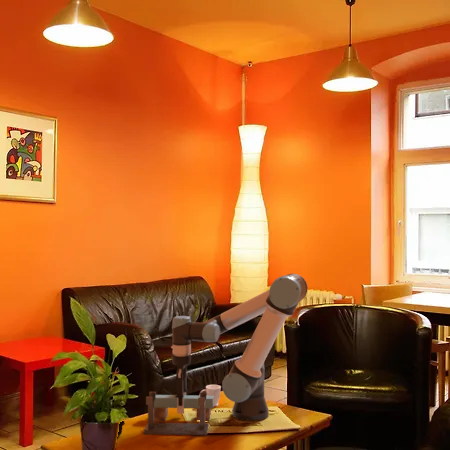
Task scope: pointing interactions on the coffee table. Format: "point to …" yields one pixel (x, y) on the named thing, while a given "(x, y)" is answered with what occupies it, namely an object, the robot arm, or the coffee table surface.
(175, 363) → the robot arm
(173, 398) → the rail
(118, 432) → the controller
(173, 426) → the stand
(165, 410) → the rest blocks
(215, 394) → the cup
